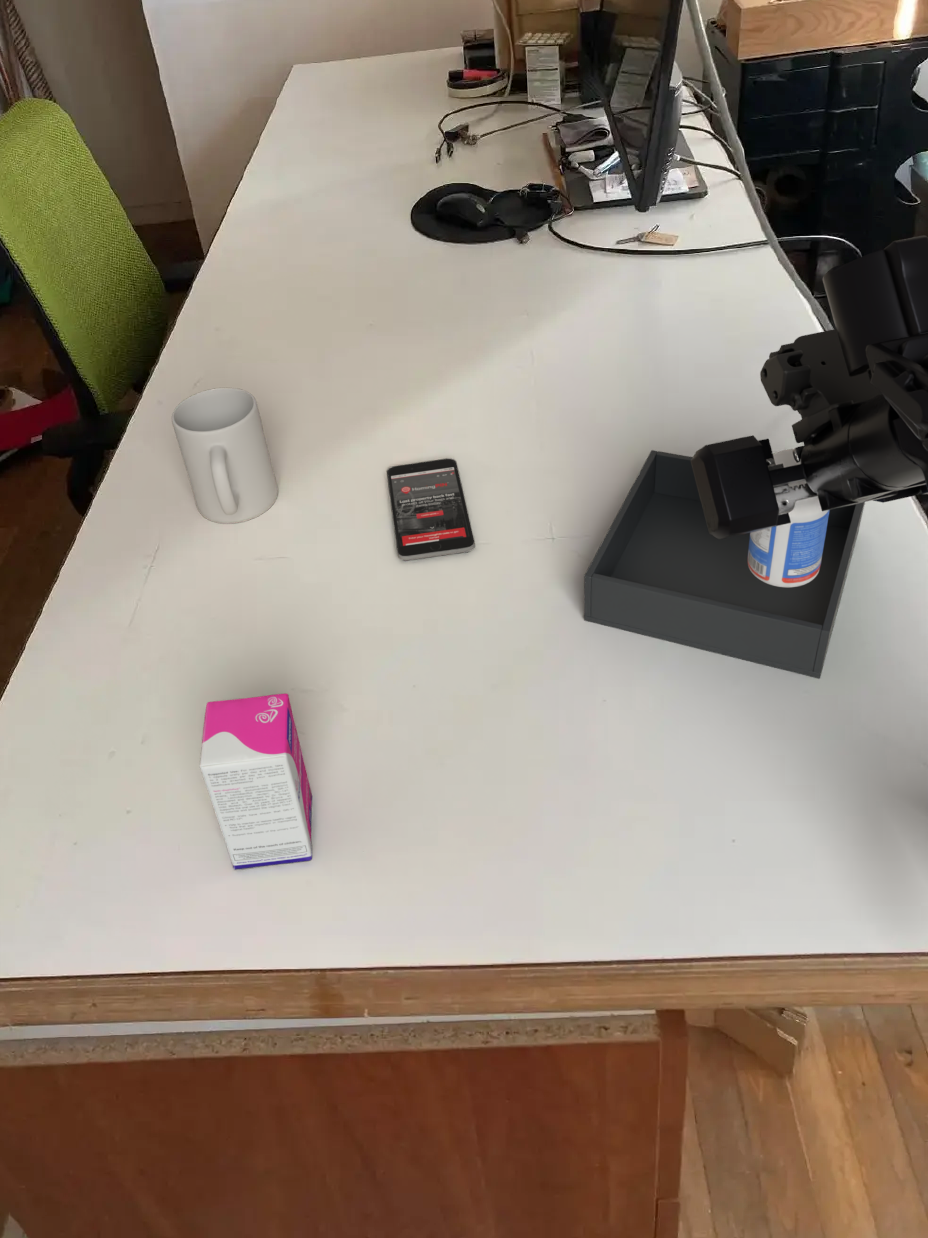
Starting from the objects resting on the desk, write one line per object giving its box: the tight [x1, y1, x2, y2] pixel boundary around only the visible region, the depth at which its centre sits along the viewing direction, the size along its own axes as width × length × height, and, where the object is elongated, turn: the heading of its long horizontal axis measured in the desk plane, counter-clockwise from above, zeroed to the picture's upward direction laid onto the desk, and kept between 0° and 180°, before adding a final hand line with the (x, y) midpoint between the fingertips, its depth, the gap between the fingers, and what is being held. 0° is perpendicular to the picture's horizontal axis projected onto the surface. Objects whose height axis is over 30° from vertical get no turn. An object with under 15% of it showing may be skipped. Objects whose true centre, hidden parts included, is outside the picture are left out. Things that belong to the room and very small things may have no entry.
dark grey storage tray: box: [583, 449, 866, 679], centre depth 88 cm, size 19×19×5 cm
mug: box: [171, 387, 279, 525], centre depth 101 cm, size 12×8×11 cm
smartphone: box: [386, 457, 476, 561], centre depth 101 cm, size 7×1×15 cm
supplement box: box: [199, 692, 313, 871], centre depth 70 cm, size 6×6×12 cm
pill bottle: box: [748, 448, 830, 588], centre depth 77 cm, size 6×5×10 cm
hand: (783, 489), depth 77 cm, fingers closed on pill bottle, 5 cm apart
